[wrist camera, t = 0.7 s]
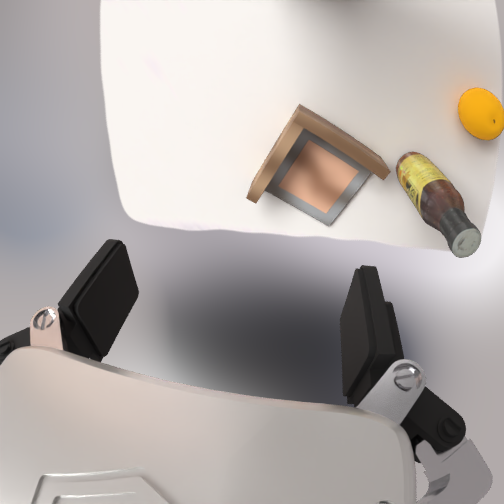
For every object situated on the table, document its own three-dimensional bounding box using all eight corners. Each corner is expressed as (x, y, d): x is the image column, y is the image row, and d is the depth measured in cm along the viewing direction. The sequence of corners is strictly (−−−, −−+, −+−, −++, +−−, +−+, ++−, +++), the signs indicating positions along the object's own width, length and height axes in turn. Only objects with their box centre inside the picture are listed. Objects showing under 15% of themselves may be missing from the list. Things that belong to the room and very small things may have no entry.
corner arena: (299, 104, 39) (299, 111, 34) (380, 157, 41) (390, 171, 36) (252, 181, 47) (246, 198, 43) (328, 223, 50) (330, 244, 45)
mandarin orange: (496, 112, 31) (522, 125, 26) (470, 141, 36) (493, 158, 30) (470, 74, 29) (496, 82, 24) (442, 106, 34) (465, 117, 28)
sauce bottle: (387, 165, 42) (430, 239, 26) (415, 142, 39) (476, 204, 23) (409, 194, 44) (453, 274, 28) (436, 172, 41) (494, 244, 25)
